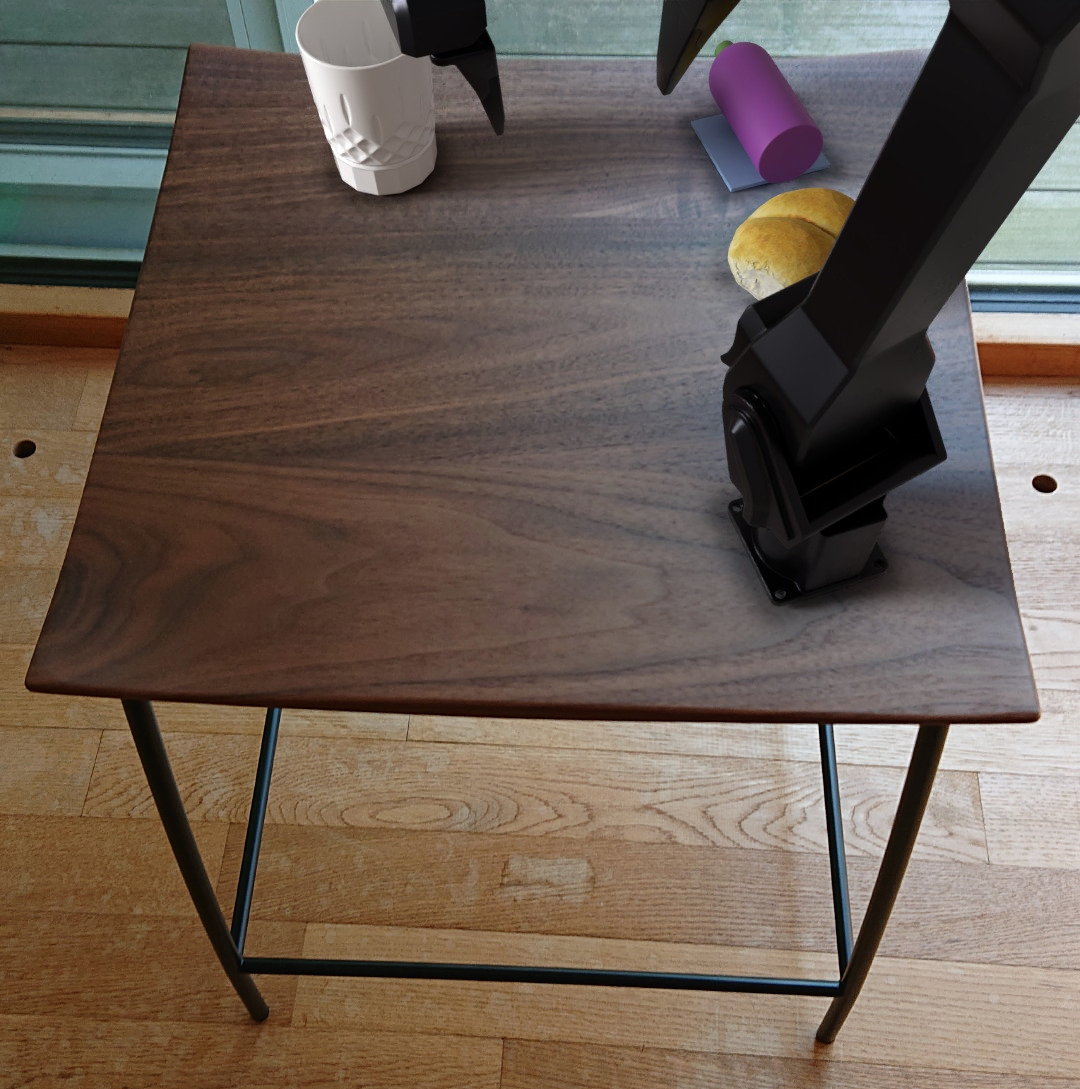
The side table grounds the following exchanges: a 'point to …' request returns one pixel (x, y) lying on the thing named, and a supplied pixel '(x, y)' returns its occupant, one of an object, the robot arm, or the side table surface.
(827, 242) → the bread roll
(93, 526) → the side table surface
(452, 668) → the side table surface
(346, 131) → the white cup
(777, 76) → the eggplant
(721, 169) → the blue-grey square tile
